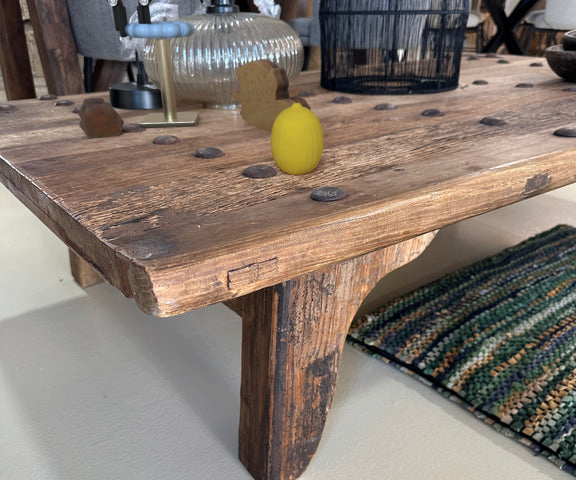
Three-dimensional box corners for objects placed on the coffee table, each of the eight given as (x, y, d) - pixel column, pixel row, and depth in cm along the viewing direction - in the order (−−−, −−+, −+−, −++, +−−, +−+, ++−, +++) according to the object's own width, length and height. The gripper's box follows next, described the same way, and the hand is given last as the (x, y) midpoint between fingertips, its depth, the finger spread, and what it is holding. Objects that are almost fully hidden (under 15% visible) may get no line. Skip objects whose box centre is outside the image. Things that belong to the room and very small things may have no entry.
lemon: (278, 189, 58) (276, 109, 55) (267, 174, 63) (264, 99, 59) (329, 185, 59) (331, 105, 56) (315, 170, 64) (315, 96, 60)
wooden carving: (321, 142, 76) (322, 62, 71) (295, 148, 74) (294, 65, 69) (250, 123, 88) (247, 53, 83) (225, 128, 85) (220, 56, 80)
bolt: (103, 134, 91) (112, 152, 78) (71, 120, 88) (75, 136, 76) (116, 99, 90) (128, 112, 77) (84, 84, 87) (91, 95, 74)
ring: (120, 39, 77) (118, 24, 77) (133, 34, 86) (131, 21, 85) (191, 38, 78) (190, 24, 77) (197, 33, 87) (196, 20, 86)
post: (141, 131, 84) (128, 41, 78) (149, 120, 91) (138, 37, 85) (195, 129, 84) (187, 40, 79) (199, 119, 92) (192, 36, 86)
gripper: (41, -124, 70) (71, 40, 78) (173, -126, 70) (188, 37, 79) (59, -114, 76) (84, 36, 85) (179, -116, 77) (192, 33, 85)
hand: (134, 35), depth 82 cm, fingers closed on ring, 2 cm apart
